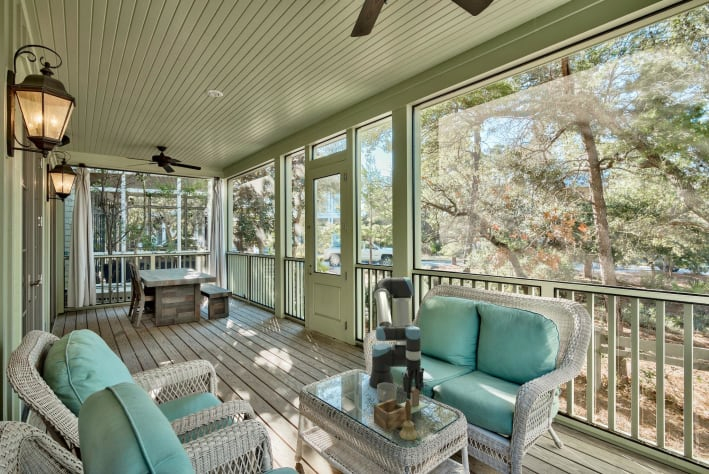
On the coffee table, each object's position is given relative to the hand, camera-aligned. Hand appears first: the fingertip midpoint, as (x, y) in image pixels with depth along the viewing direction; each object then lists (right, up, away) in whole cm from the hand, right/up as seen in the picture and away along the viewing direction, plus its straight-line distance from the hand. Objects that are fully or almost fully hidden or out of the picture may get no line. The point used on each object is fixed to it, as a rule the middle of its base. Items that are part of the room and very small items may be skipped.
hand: (413, 403), depth 174 cm
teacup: (-13, -5, +12) cm, 18 cm away
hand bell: (-6, -5, -19) cm, 20 cm away
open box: (-12, -5, -8) cm, 15 cm away
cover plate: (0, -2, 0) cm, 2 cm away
